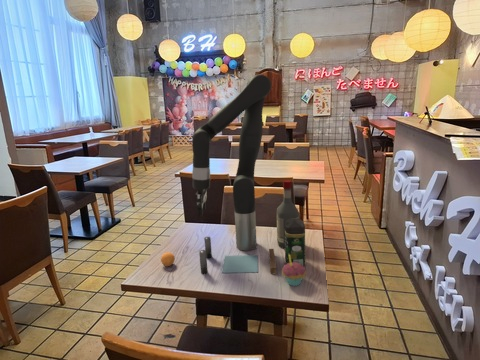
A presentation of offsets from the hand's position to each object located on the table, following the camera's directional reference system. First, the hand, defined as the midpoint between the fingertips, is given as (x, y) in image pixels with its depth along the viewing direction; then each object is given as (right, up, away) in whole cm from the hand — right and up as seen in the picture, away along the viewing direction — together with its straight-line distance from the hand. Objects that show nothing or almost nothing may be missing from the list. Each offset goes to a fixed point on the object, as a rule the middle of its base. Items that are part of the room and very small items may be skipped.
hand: (201, 212), depth 139 cm
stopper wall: (+30, -19, -10) cm, 37 cm away
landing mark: (+17, -20, -9) cm, 28 cm away
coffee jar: (+39, -20, -11) cm, 45 cm away
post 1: (+3, -22, -15) cm, 26 cm away
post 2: (+3, -19, -2) cm, 19 cm away
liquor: (+39, -15, +6) cm, 42 cm away
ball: (-13, -18, -8) cm, 24 cm away
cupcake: (+37, -23, -24) cm, 49 cm away
